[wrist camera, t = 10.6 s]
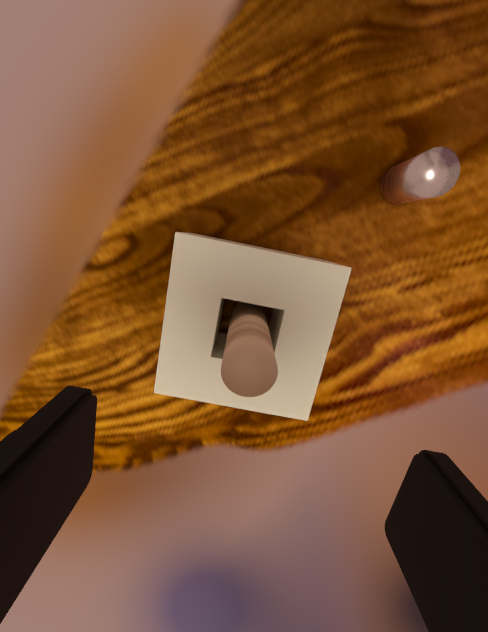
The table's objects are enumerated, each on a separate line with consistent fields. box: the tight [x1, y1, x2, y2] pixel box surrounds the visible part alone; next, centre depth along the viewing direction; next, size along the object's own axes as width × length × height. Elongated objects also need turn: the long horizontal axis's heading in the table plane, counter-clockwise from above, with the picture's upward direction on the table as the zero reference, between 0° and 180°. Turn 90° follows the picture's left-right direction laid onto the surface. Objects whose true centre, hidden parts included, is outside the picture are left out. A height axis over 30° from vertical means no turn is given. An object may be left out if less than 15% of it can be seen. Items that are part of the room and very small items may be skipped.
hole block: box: [154, 232, 352, 421], centre depth 24 cm, size 12×12×6 cm
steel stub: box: [380, 147, 460, 205], centre depth 22 cm, size 3×3×5 cm
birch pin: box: [221, 301, 278, 397], centre depth 22 cm, size 3×3×12 cm
